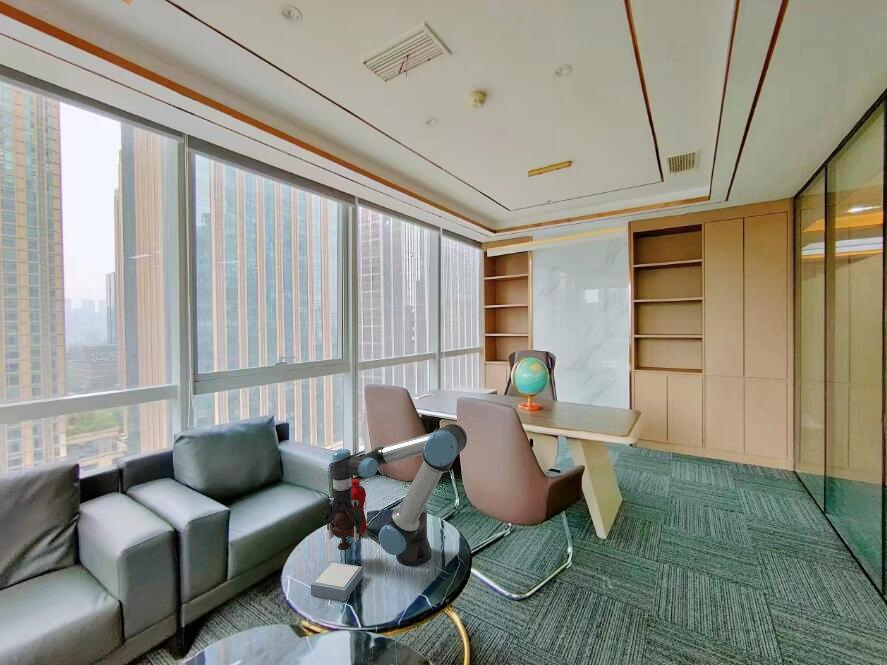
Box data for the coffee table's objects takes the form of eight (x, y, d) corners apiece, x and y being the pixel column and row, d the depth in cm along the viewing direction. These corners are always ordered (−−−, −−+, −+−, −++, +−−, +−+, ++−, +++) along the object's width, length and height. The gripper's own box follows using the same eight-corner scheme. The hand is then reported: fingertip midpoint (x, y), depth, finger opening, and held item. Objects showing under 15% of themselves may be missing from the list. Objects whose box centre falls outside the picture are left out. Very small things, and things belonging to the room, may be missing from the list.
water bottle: (360, 539, 178) (359, 485, 177) (341, 534, 182) (341, 481, 182) (372, 529, 186) (371, 478, 186) (354, 525, 191) (353, 475, 190)
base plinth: (362, 576, 151) (362, 565, 151) (345, 601, 137) (344, 589, 137) (331, 571, 154) (331, 560, 154) (310, 594, 141) (310, 583, 140)
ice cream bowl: (358, 550, 158) (357, 514, 158) (330, 556, 155) (329, 519, 155) (356, 537, 168) (355, 503, 168) (330, 542, 165) (329, 507, 165)
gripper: (371, 485, 162) (373, 537, 162) (322, 481, 168) (324, 531, 168) (363, 493, 155) (365, 547, 155) (312, 488, 161) (314, 540, 161)
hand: (344, 539), depth 161 cm, fingers closed on ice cream bowl, 11 cm apart
